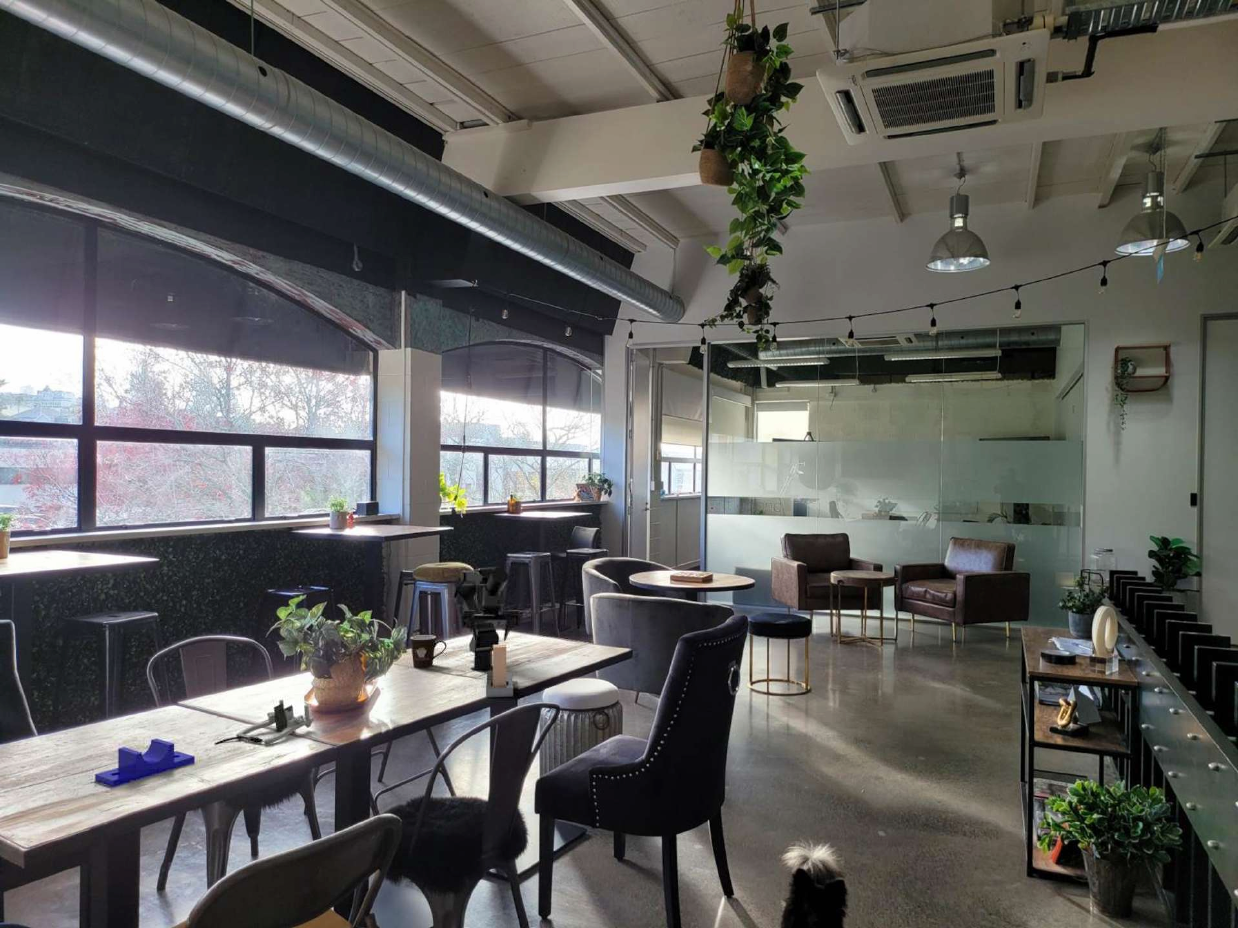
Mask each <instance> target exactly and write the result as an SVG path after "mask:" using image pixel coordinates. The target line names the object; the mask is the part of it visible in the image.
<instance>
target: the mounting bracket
mask: <svg viewBox="0 0 1238 928" xmlns="http://www.w3.org/2000/svg"><path fill="white" fill-rule="evenodd" d="M117 752H118V756H117V759H118V761H117V765H118V766H117V767H116V768H112V769H109V770H106V771H102V772H98V773H95V774H94V782H97V783H101V784H103V785H106V786H108V787H111V788H114V787H118V786H121V785H125V784H127V783H132V782H134V781H135V782H136V781H138V780H141V779H144V778H147V777H151V776H154V775H158V774H162V773H164V772H168V771H171V770H175V769H177V768H181V767H184V766H189V765H191V764H194V763H195V759H196V758H195V755H192V754H188V753H184V752H181V751H178V750H176V751H175V743H173V742H169V741H167V740H163V739H160V738H153V739H150V744H149V747H148V748H147V750H146V751H145V752H144V753H142V752H141V751H138V750H134V749H132V748H128V747H125V746H123V747H119V748H118V751H117Z"/></svg>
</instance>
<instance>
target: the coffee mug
mask: <svg viewBox="0 0 1238 928" xmlns="http://www.w3.org/2000/svg"><path fill="white" fill-rule="evenodd" d="M436 640H437V636H436V635H430V634H423V635H422V634H421V635H420V634H418V635H413V636H410V646H411V655H412V663H413V664H412V665H413V668H415V669H429V668H432V667H433V666H434V665H433V664H434V660H435V658H437V657H438V656H440V655H442V654H443V652H445V651H446V650H447V643H446V641H444V640H438V641H436ZM439 643H442V644H444V649H442V651H441V652H438V654H437V653H436V655H434V654H435V648H436V646H437V645H438V644H439Z"/></svg>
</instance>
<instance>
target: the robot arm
mask: <svg viewBox="0 0 1238 928" xmlns="http://www.w3.org/2000/svg"><path fill="white" fill-rule="evenodd" d="M508 580H509V574H508V572H507V571H506V570H504V569H502V568H501V566H499V565H498V566H493V567H480V568H479V567H478V568H477V569H474V570H473V569H471V570H463V571H461V572H460V574H459V576H458V577H457V579H455V580H454V581H453V584H452V586H451V590H450V595H451V598H452V599H453V601H454V602H455V605H458V606H460V607H462V608H463V611H462V612H461V626H462V627H465V628H466V629H468V630H469V631H470V632H471V635H472V637H471V639H470V642H469V644H468V645H469V651H470V652H471V653H473V654H474V657H473V660H474V661H473V663H474V664H473V665H474V666H472V667H470V670H472V671H482V672H487V671H490V670H493V645H500V636H499V633H498V632H497V629H496V627H495V625H494V623H493V622H505V629H504V633H503V641H504V642H506V640H507V638H508V636H509V634H510V632H511V631H512V629H515V628H516V627H518V626H520V620H521V619H520V618H521V617H520V616H521V612H520V611H519V609H508V610H507V614H501V606H504V605H505V599H506V597H505V594H501V592H502V591H503V590H504V588H505V585H506V584H507V581H508ZM468 582H473V583H468ZM464 583H466V584H464ZM467 583H468V584H467ZM478 586H483V587H482V603H481V604H482V605H481V609H480V607H479V606H478V603H477V601H476V600H475V599H476V595H477V592H478V588H479V587H478ZM486 621H487V622H486Z"/></svg>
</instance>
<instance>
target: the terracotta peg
mask: <svg viewBox="0 0 1238 928" xmlns="http://www.w3.org/2000/svg"><path fill="white" fill-rule="evenodd" d="M492 666H493V669H492V673H493V686H506V673H507V644H498V645H493V651H492Z"/></svg>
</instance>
